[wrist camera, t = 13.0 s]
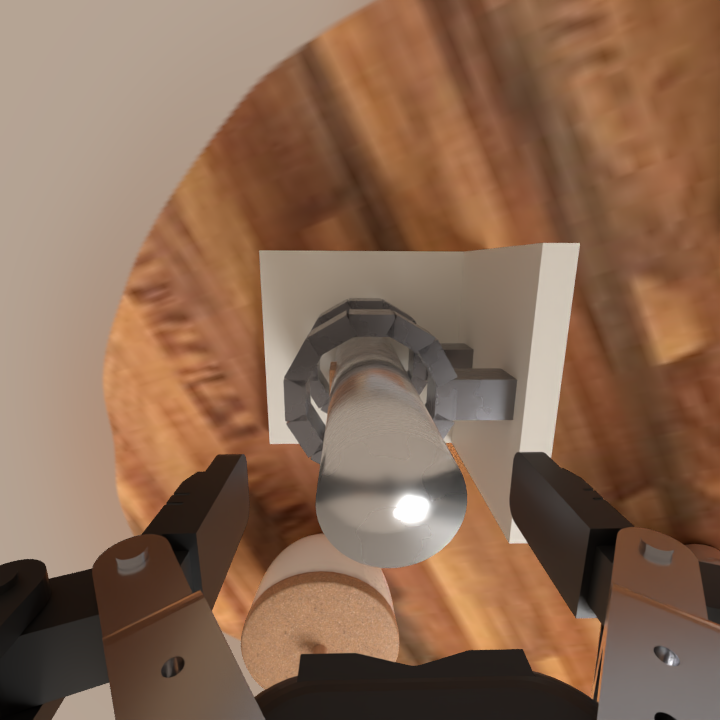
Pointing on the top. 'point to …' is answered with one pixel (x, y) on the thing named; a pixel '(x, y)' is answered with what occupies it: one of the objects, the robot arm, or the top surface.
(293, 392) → the collars
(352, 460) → the steel tube
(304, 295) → the tube holder
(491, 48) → the top surface
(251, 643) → the lidded jar
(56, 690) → the robot arm
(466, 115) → the top surface
